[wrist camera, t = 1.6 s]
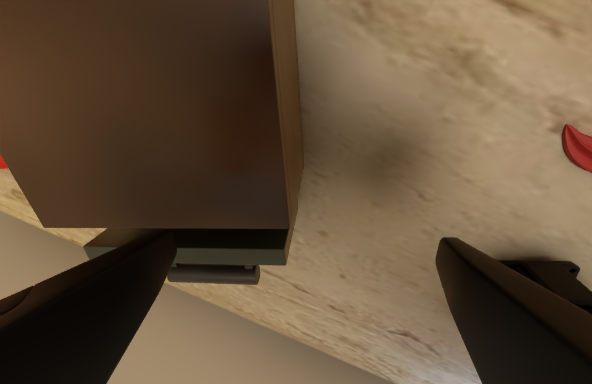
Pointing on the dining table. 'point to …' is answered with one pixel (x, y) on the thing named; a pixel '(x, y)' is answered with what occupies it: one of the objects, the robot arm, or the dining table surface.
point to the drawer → (210, 251)
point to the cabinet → (152, 112)
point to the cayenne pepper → (578, 147)
